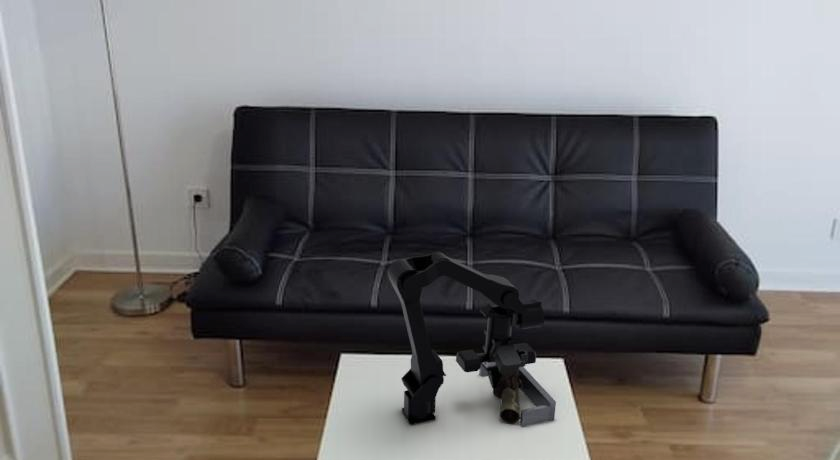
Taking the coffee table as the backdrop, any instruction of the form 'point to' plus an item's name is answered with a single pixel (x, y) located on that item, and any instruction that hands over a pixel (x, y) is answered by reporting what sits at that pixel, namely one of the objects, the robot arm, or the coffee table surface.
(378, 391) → the coffee table surface
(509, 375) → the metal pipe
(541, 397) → the grey u-shaped bracket
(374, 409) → the coffee table surface
